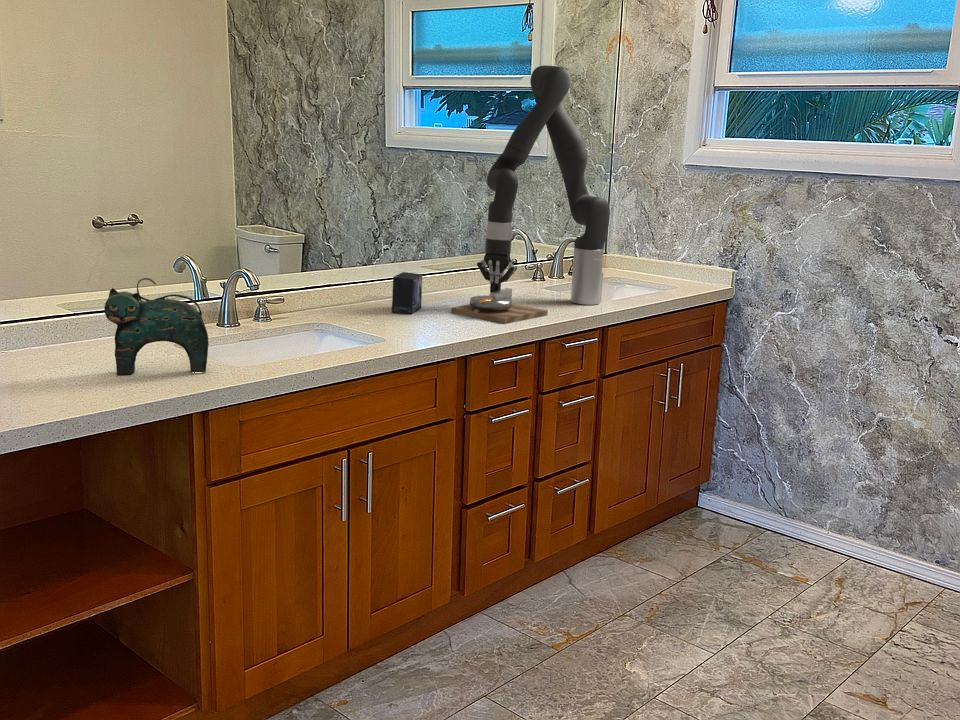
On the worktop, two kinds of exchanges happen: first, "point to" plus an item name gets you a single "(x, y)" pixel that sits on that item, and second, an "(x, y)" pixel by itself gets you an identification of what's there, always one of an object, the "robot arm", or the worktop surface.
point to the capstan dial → (493, 300)
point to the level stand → (501, 313)
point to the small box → (407, 293)
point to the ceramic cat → (155, 327)
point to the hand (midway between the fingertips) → (495, 295)
